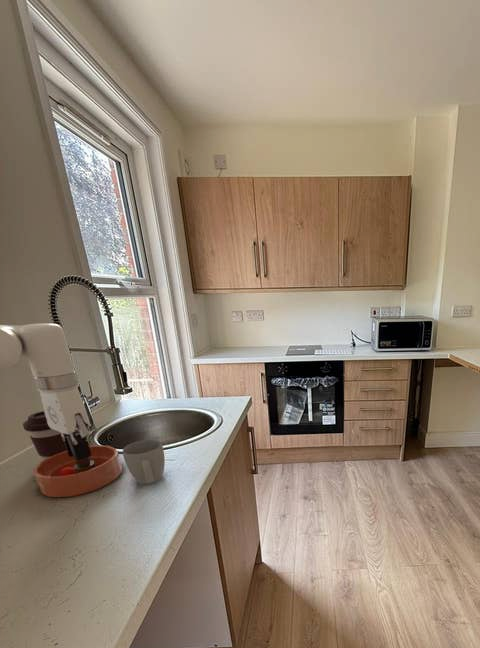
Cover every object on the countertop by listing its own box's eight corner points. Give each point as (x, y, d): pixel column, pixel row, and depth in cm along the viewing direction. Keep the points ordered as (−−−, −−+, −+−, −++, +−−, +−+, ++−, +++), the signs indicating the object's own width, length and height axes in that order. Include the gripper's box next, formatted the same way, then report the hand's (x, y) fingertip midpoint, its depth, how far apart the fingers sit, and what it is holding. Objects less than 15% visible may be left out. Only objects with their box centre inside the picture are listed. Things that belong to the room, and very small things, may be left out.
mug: (130, 477, 90) (121, 444, 86) (167, 469, 94) (159, 436, 90) (133, 500, 80) (122, 463, 77) (173, 489, 84) (165, 454, 81)
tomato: (54, 477, 85) (63, 464, 86) (58, 476, 88) (68, 464, 89) (69, 484, 86) (78, 471, 87) (73, 483, 89) (82, 471, 90)
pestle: (81, 481, 84) (66, 440, 79) (74, 476, 86) (59, 435, 82) (101, 473, 87) (87, 433, 82) (93, 468, 89) (79, 429, 85)
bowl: (64, 507, 78) (55, 484, 76) (29, 488, 87) (20, 466, 84) (136, 473, 92) (131, 453, 90) (100, 459, 100) (94, 440, 98)
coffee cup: (49, 475, 92) (29, 423, 86) (33, 466, 97) (14, 416, 91) (89, 460, 100) (73, 411, 94) (72, 453, 105) (56, 405, 99)
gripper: (20, 381, 78) (46, 454, 85) (56, 390, 70) (81, 470, 77) (58, 374, 84) (79, 443, 91) (94, 382, 76) (114, 457, 83)
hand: (80, 455), depth 84 cm, fingers closed on pestle, 2 cm apart
